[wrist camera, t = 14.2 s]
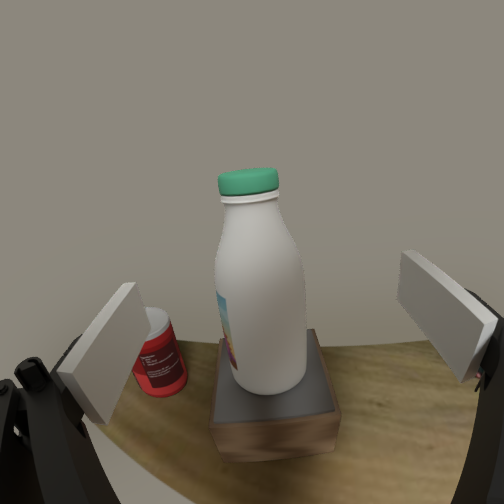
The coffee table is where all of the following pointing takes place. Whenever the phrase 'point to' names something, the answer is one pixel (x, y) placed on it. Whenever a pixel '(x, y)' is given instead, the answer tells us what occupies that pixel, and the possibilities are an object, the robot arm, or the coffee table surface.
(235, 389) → the riser
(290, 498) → the coffee table surface
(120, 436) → the coffee table surface
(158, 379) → the canned food
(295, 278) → the milk bottle
